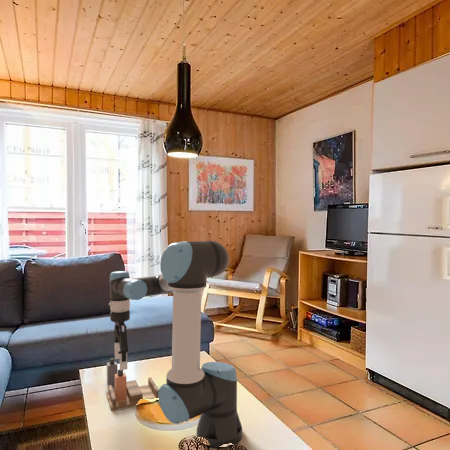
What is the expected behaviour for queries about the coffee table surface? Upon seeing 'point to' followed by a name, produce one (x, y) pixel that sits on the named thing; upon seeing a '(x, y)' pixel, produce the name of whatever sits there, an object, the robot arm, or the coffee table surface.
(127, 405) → the wooden ridged block
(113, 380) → the charcoal plug
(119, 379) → the terracotta plug
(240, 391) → the coffee table surface
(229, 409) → the robot arm
